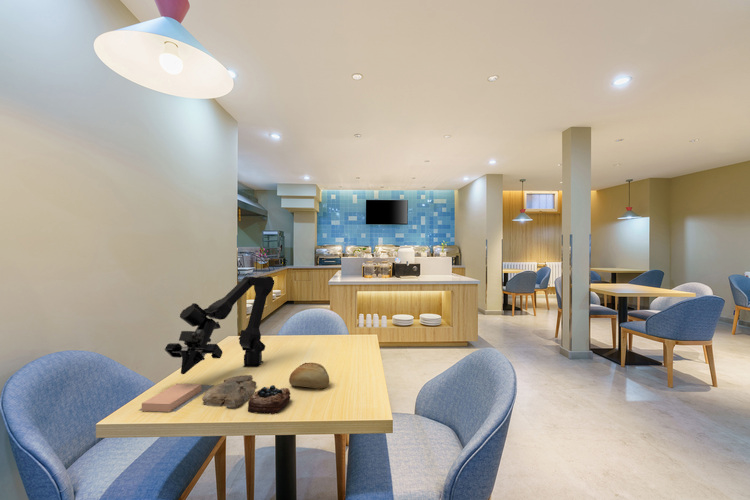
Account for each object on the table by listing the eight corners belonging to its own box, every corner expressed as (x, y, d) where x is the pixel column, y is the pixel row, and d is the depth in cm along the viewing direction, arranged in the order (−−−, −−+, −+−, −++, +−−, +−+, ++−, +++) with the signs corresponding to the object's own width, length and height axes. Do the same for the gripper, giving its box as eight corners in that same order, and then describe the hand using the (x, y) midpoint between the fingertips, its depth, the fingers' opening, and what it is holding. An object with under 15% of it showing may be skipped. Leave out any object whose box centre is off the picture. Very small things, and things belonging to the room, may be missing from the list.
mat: (183, 385, 116) (183, 384, 116) (214, 386, 115) (214, 385, 115) (138, 411, 96) (138, 410, 96) (175, 413, 95) (175, 411, 95)
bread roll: (294, 380, 121) (294, 359, 121) (332, 381, 119) (332, 360, 120) (284, 390, 112) (284, 368, 112) (326, 392, 110) (326, 369, 110)
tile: (176, 383, 111) (141, 403, 96) (201, 384, 110) (169, 404, 95) (176, 390, 111) (141, 411, 96) (201, 391, 110) (169, 412, 95)
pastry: (279, 416, 94) (279, 396, 94) (241, 413, 95) (242, 393, 96) (294, 399, 105) (294, 381, 105) (260, 397, 106) (260, 379, 107)
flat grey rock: (231, 383, 119) (195, 407, 99) (232, 370, 119) (196, 391, 99) (267, 386, 117) (237, 410, 97) (267, 372, 118) (238, 394, 98)
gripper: (168, 320, 114) (143, 361, 102) (218, 321, 112) (198, 362, 101) (183, 337, 121) (161, 377, 110) (230, 338, 120) (212, 378, 108)
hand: (182, 373), depth 107 cm, fingers closed
